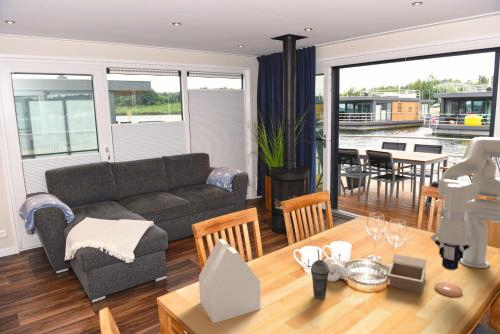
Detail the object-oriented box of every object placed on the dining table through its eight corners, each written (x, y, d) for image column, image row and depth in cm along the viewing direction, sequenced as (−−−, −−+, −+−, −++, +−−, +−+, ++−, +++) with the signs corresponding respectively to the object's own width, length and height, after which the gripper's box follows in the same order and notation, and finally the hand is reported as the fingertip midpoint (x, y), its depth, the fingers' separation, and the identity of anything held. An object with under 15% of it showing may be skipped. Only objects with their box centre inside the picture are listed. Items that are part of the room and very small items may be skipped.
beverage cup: (318, 303, 139) (318, 255, 136) (306, 295, 146) (307, 249, 142) (332, 298, 143) (333, 251, 139) (321, 290, 149) (321, 245, 146)
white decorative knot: (356, 280, 157) (357, 261, 156) (336, 288, 151) (337, 268, 149) (337, 271, 167) (338, 252, 165) (318, 277, 160) (318, 259, 159)
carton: (393, 267, 168) (394, 254, 167) (425, 273, 161) (426, 259, 160) (385, 290, 148) (385, 274, 147) (421, 298, 142) (422, 282, 140)
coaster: (435, 282, 154) (435, 280, 154) (462, 287, 149) (462, 285, 149) (433, 293, 145) (434, 290, 145) (462, 299, 140) (462, 296, 140)
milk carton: (213, 323, 129) (210, 258, 125) (200, 302, 143) (197, 243, 138) (260, 309, 137) (259, 247, 133) (244, 291, 151) (242, 234, 146)
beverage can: (460, 271, 142) (462, 243, 140) (444, 270, 143) (446, 242, 141) (454, 265, 147) (457, 238, 145) (440, 264, 148) (442, 237, 146)
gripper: (429, 214, 143) (426, 257, 146) (480, 220, 134) (476, 266, 137) (430, 210, 149) (427, 251, 152) (478, 215, 141) (475, 258, 144)
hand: (450, 257), depth 144 cm, fingers closed on beverage can, 5 cm apart
